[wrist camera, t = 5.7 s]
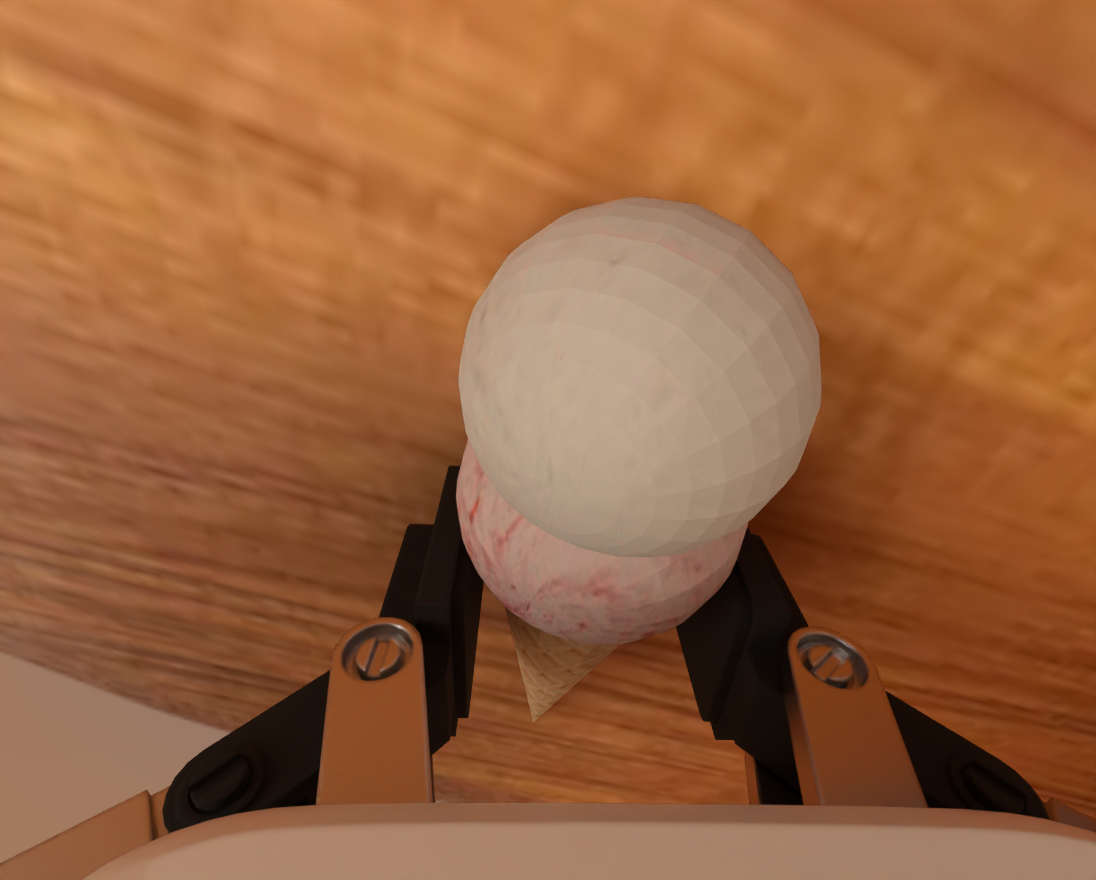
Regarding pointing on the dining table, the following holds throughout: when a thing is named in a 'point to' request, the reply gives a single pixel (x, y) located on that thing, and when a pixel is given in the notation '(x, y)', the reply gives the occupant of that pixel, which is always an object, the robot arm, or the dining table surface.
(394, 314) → the dining table surface
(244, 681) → the dining table surface
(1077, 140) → the dining table surface
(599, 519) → the ice cream cone
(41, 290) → the dining table surface
